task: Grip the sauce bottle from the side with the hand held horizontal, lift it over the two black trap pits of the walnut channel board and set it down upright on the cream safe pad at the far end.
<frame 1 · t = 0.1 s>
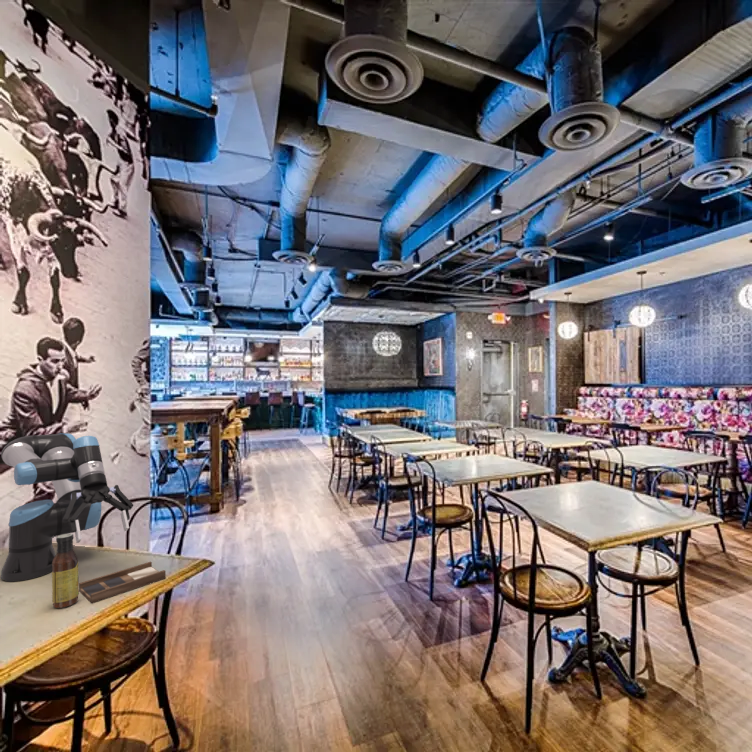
hand: (103, 535, 135), 15 cm above the table, tool tilted 35°, fingers open, 13 cm apart
trap channel board: (123, 584, 133), on the table
sauce bottle: (65, 604, 121), on the table
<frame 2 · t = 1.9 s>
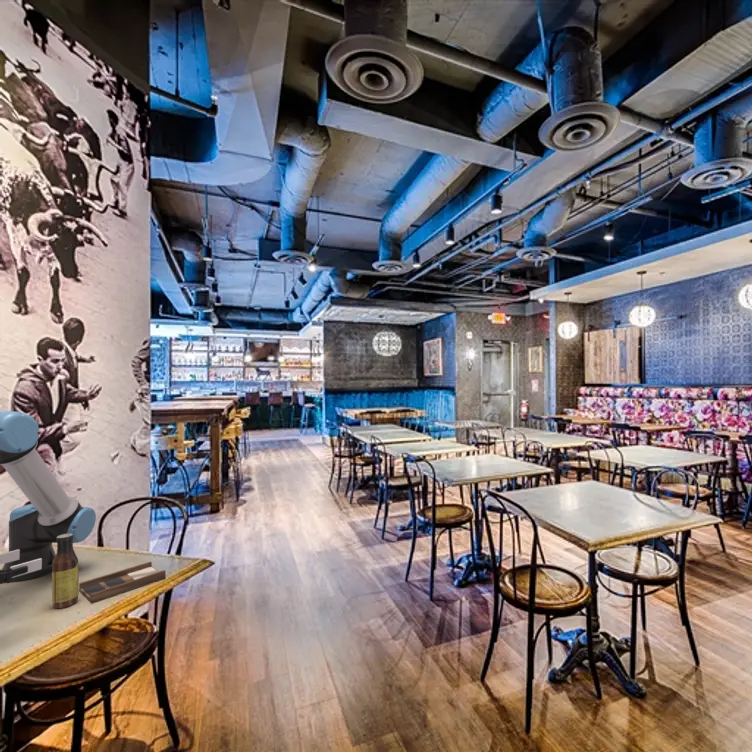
hand: (29, 558, 114), 16 cm above the table, tool horizontal, fingers open, 13 cm apart
nothing on the table moved.
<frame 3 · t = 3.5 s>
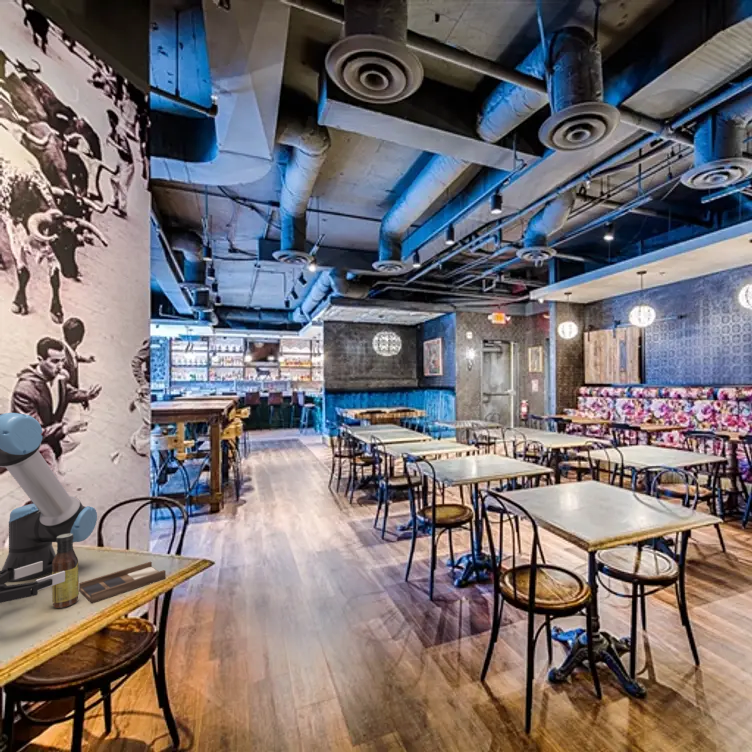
hand: (53, 570, 119), 11 cm above the table, tool horizontal, fingers open, 13 cm apart
nothing on the table moved.
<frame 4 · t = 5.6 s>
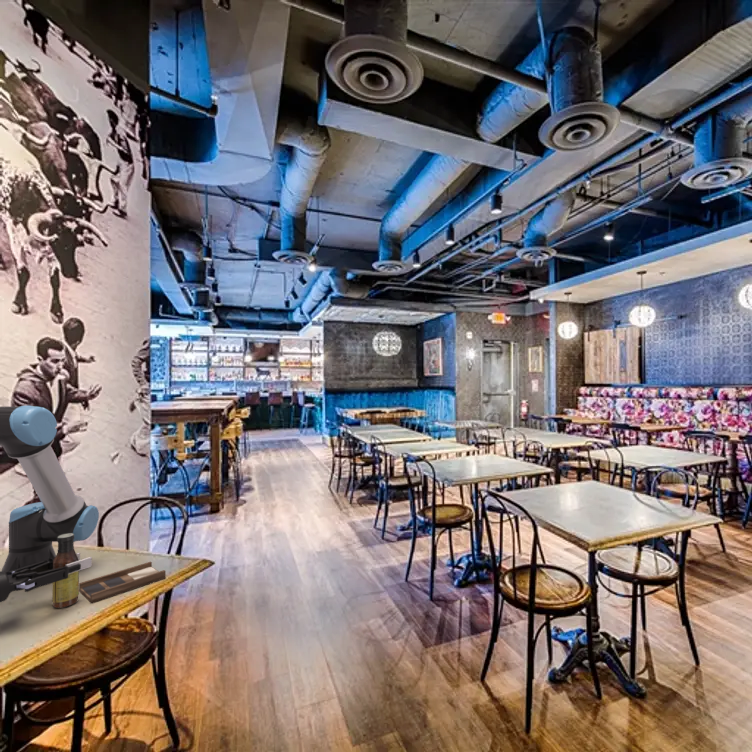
hand: (85, 559, 126), 11 cm above the table, tool horizontal, fingers closed on sauce bottle, 6 cm apart
sauce bottle: (64, 604, 121), on the table, touching gripper
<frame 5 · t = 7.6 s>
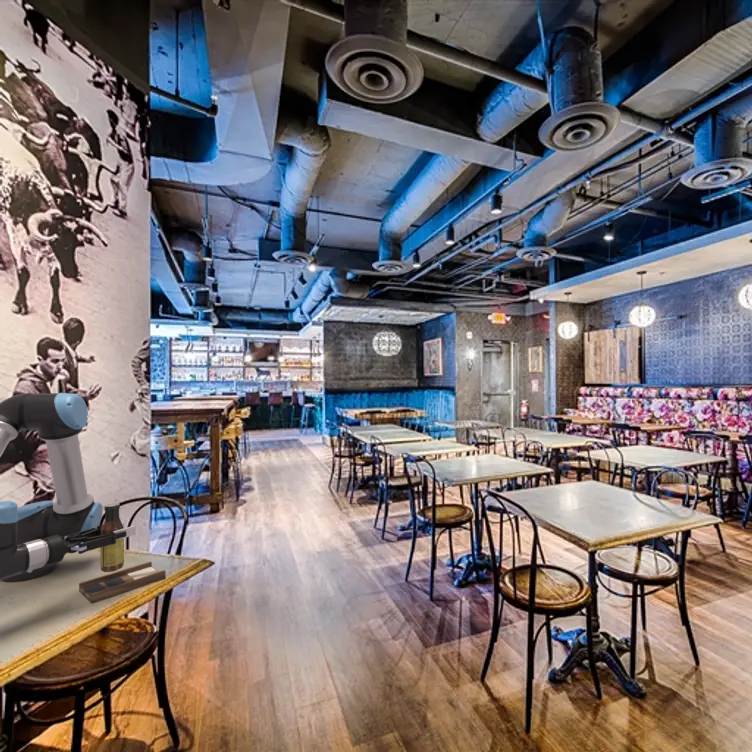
hand: (129, 528, 134), 18 cm above the table, tool horizontal, fingers closed on sauce bottle, 6 cm apart
sauce bottle: (111, 569, 129), point 7 cm above the table, touching gripper
when the fingers open (13 cm above the table, at t = 9.8 s): sauce bottle drops 1 cm, resting on trap channel board.
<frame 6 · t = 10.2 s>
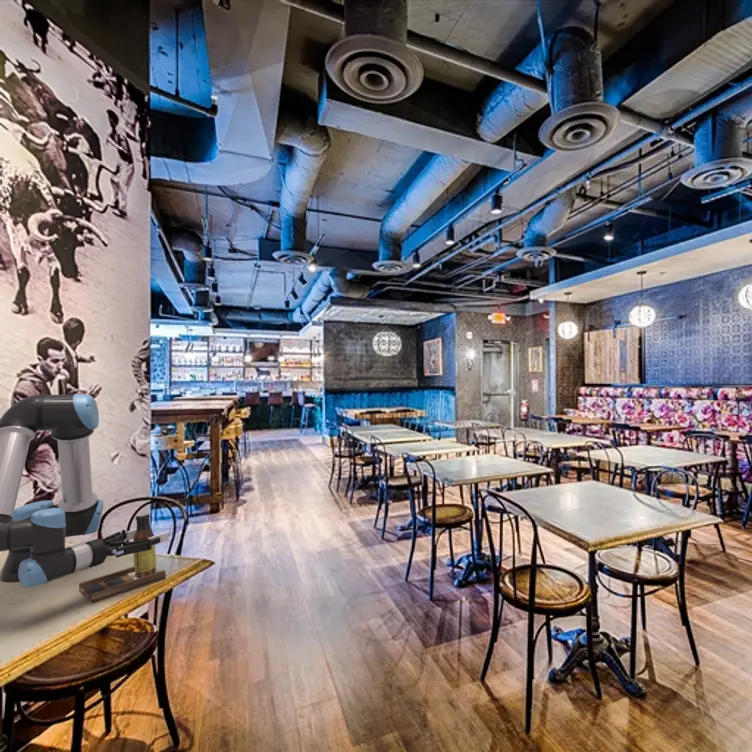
hand: (156, 533, 142), 13 cm above the table, tool horizontal, fingers open, 11 cm apart
sauce bottle: (145, 574, 138), point 1 cm above the table, touching trap channel board
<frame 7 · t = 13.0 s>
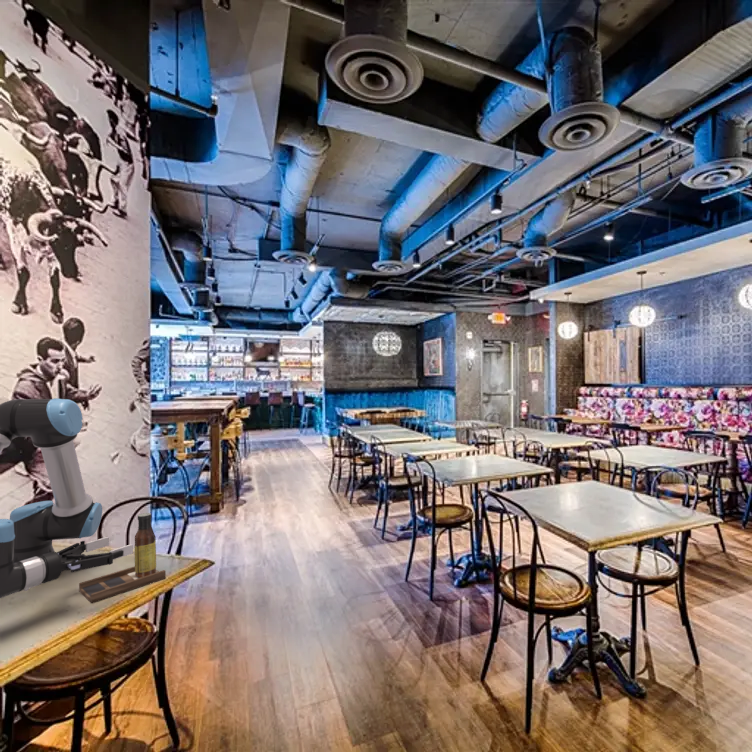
hand: (120, 544, 131), 14 cm above the table, tool horizontal, fingers open, 13 cm apart
nothing on the table moved.
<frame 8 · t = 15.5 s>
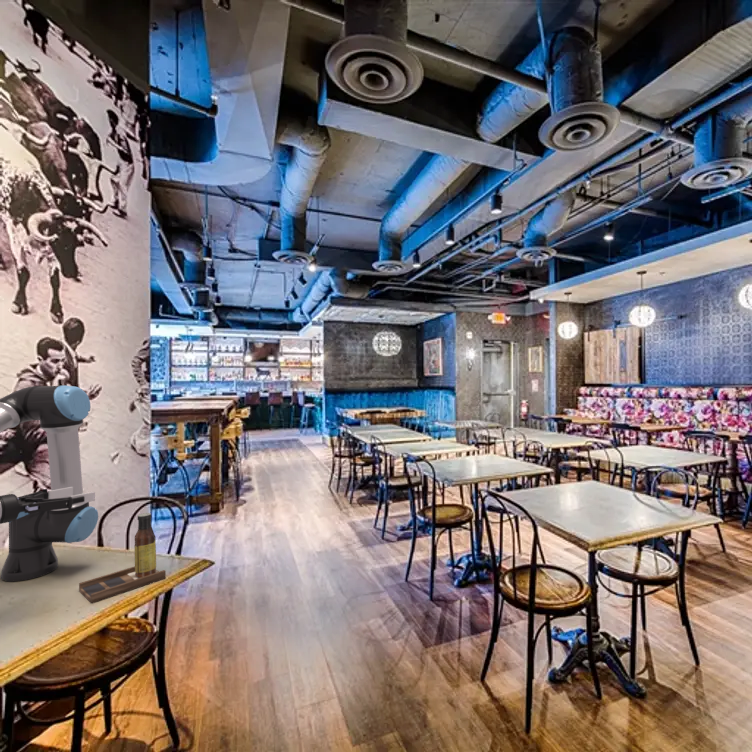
hand: (83, 493, 131), 30 cm above the table, tool horizontal, fingers open, 13 cm apart
nothing on the table moved.
at the end: sauce bottle inside the target area (0.4 cm from its centre), point 0.9 cm above the table; sauce bottle tilted 0°; the gripper is holding nothing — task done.
